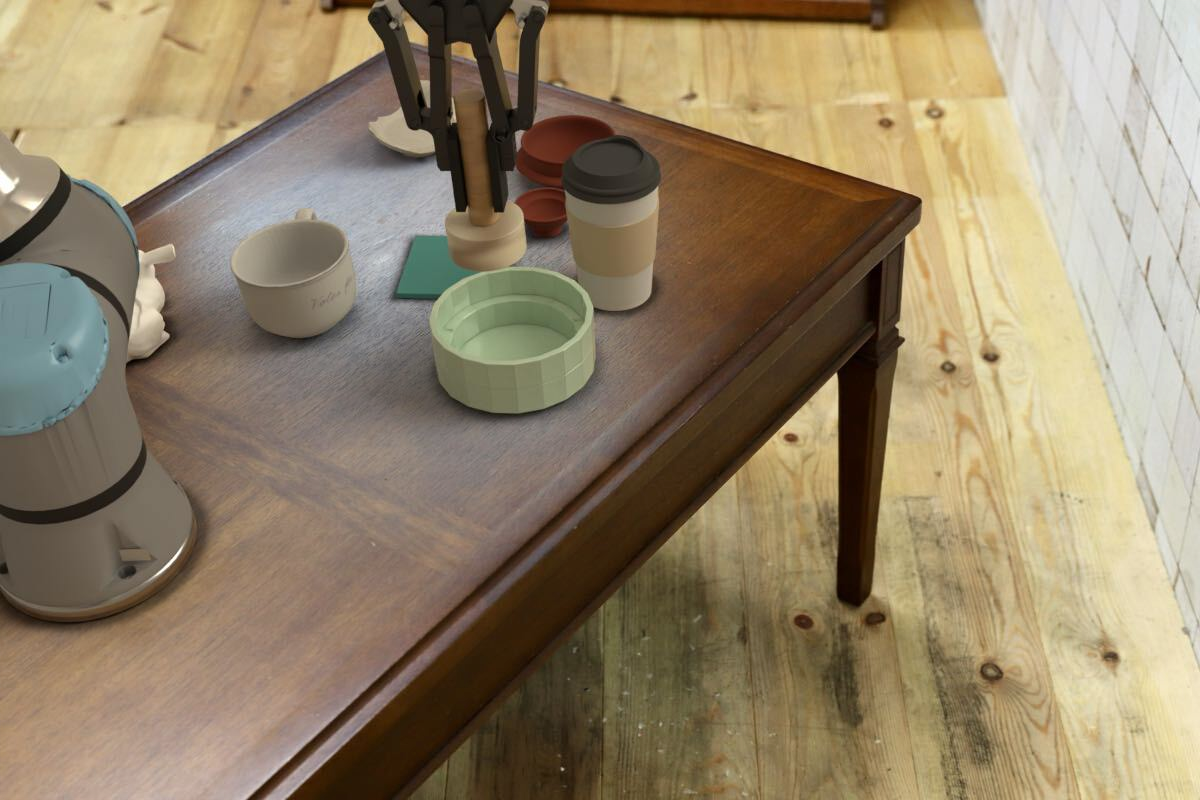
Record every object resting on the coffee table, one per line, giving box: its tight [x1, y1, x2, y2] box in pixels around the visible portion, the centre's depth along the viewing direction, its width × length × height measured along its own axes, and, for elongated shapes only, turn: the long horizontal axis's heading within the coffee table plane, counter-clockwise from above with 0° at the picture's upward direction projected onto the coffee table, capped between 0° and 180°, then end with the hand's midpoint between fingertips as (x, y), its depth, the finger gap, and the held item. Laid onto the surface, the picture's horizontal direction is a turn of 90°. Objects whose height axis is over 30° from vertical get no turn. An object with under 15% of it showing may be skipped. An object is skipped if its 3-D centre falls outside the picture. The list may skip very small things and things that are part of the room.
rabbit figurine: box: [126, 243, 177, 364], centre depth 126 cm, size 12×8×10 cm, turn 165°
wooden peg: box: [444, 88, 528, 272], centre depth 109 cm, size 6×6×14 cm
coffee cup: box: [561, 134, 662, 312], centre depth 127 cm, size 9×9×15 cm
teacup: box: [229, 207, 358, 339], centre depth 129 cm, size 14×11×8 cm
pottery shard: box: [367, 79, 457, 158], centre depth 154 cm, size 10×11×5 cm
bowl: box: [428, 266, 597, 414], centre depth 122 cm, size 14×14×6 cm
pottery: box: [513, 114, 617, 239], centre depth 144 cm, size 12×20×4 cm, turn 168°
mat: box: [395, 234, 480, 300], centre depth 136 cm, size 10×10×1 cm
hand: (482, 202), depth 110 cm, fingers closed on wooden peg, 2 cm apart
